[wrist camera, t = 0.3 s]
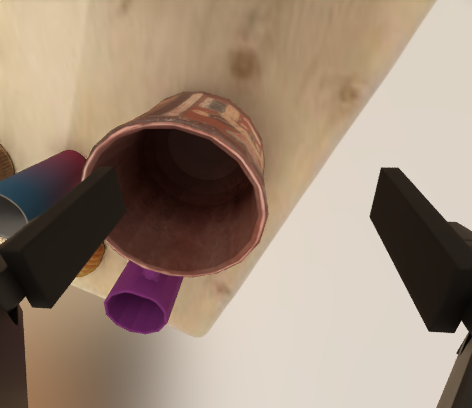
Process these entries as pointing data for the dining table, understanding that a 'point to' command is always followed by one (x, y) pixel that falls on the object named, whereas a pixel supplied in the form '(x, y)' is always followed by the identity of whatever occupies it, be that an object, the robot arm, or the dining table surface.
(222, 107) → the pottery
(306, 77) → the dining table surface
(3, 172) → the lamp
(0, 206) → the cup
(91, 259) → the pastry
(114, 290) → the mug
